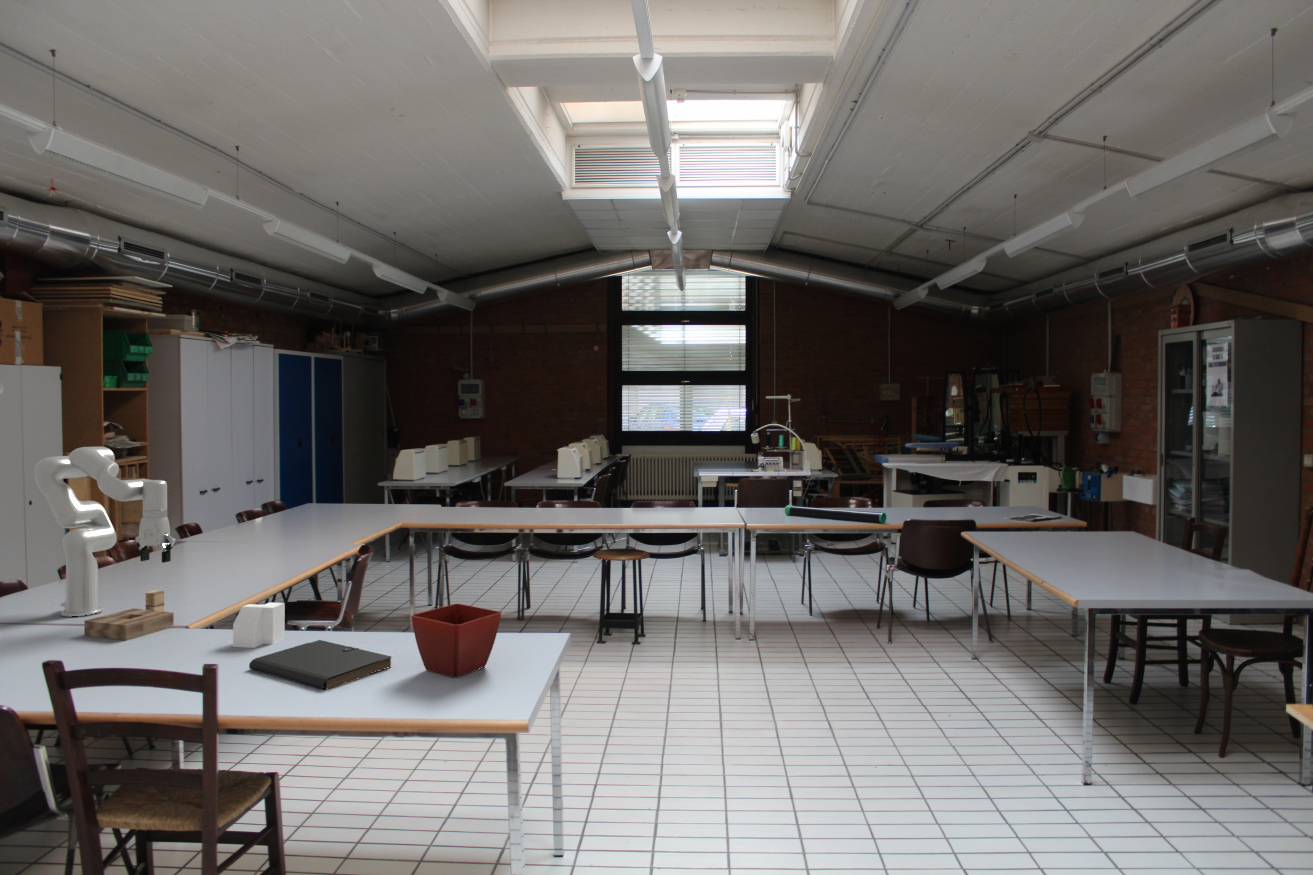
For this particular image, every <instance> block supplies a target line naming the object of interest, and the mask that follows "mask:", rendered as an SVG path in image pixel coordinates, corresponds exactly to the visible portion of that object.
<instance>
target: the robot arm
mask: <svg viewBox="0 0 1313 875" xmlns="http://www.w3.org/2000/svg"><path fill="white" fill-rule="evenodd" d="M115 460H116V456H115V454H114V452H113V450H111V449H110V448H108V447H106V446H82V447H78V448H75V449H73V450H72V451H71V452H70V453H69V455H57V456H56V455H55V456H49V457H48V456H47V457H45V458H42V459H41V460H39V461H38V462H37V464H36V465H35V467H34V470H33V471H34V472H33V473H34V474H33V475H34V476H33V477H34V481H35V483H36V485H37V487H38V489H39V491H41V493H42V494H43V495H44V497H45V499H46V501H47V503H48V505H49V508H50V509H51V512H52V514H53V516H54V518H55V520H56V522H57V523H58V525H59V527H61V528H64V529H72V530H69V531H68V532H67V533H65V535H64V536H63V539H62V549H63V553H64V557H65V586H66V587H65V592H66V593H65V599H66V600H65V601H64V602H61V603H60V606H61V607H64V610H62V611H60V616H61V617H68V618H69V617H71V618H73V617H72V616H78V617H84V616H85V615H87V616H91V614H92V615H96V614H95V613H97V614H100V613H102V612H103V611H104V608H103V606H100V605H99V566H98V562H97V559H96V558H95V556H94V555H93V553H95V552H97V553H98V552H102V551H105V550H106V551H107V550H109V549H111V548H113V547H114V546H115V545H116V543H117V540H118V539H117V533H116V530H115V528H114V526H113V524H112V522H111V519H110V517H109V516H108V513H107V511H106V509H105V508H104V507H103V505H102V504H101V503H100V502H98V501H95V500H82V501H81V500H79V499H78V497H77V496H76V494H75V491H74V490H73V489H72V487H71V486H70V485H68V484H67V483H66V482H65V481H63V480H62V479H72V478H73V479H76V478H78V479H79V478H83V477H84V478H85V477H88V476H89V478H90V477H91V478H92V479H94V480H96V484H97V486H98V489H99V490H100V491H101V493H103V494H104V495H106V496H107V497H109V498H110V499H113V500H114V501H117V502H130V501H140V500H142V517H141V519H140V522H139V529H138V535H137V536H136V537H135V542H136V546H137V547H138V550H139V551H140V553H139V554H140V557H139V559H140V560H139V561H140V562H145V561H150V548H149V547H160V548H161V550H162V551H161V563H163V564H164V563H168V562H171V556H172V554H171V553H172V552H171V551H173V548H174V546H175V543H176V538H174V537H173V536H172V535H171V526H170V521H169V517H168V484H167V483H168V482H167V481H165V480H163V479H150V478H149V479H148V478H139V479H124V480H122V479H120V478H118V477H117V476H118V474H119V472H120V467H119V466H120V465H118V463H117V462H116V461H115ZM81 527H82V528H81ZM74 528H76V529H74ZM102 610H103V611H102ZM101 611H102V612H101ZM99 612H100V613H99ZM85 617H86V616H85Z"/></svg>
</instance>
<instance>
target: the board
mask: <svg viewBox="0 0 1313 875" xmlns="http://www.w3.org/2000/svg"><path fill="white" fill-rule="evenodd" d="M174 616H175V614H174V612H171V611H170V612H169V611H164V612H163V611H153V610H146V609H142V608H131V609H126V610H122V611H119V612H114V613H113V612H112V613H110V614H106V615H103V616H99V617H93V618H90V619H87V620H84V621H83V622H84V623H83V624H84V628H83V630H84V631H83V632H84V637H93V638H94V637H95V638H102V639H111V640H118V641H130V640H133V639H135V638H140V637H143V636H146V635H150V634H153V633H156V632H160V631H163V629H164V630H166V629H165V628H166V627H169V626H172V625H173V626H174V619H175V618H174Z"/></svg>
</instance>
